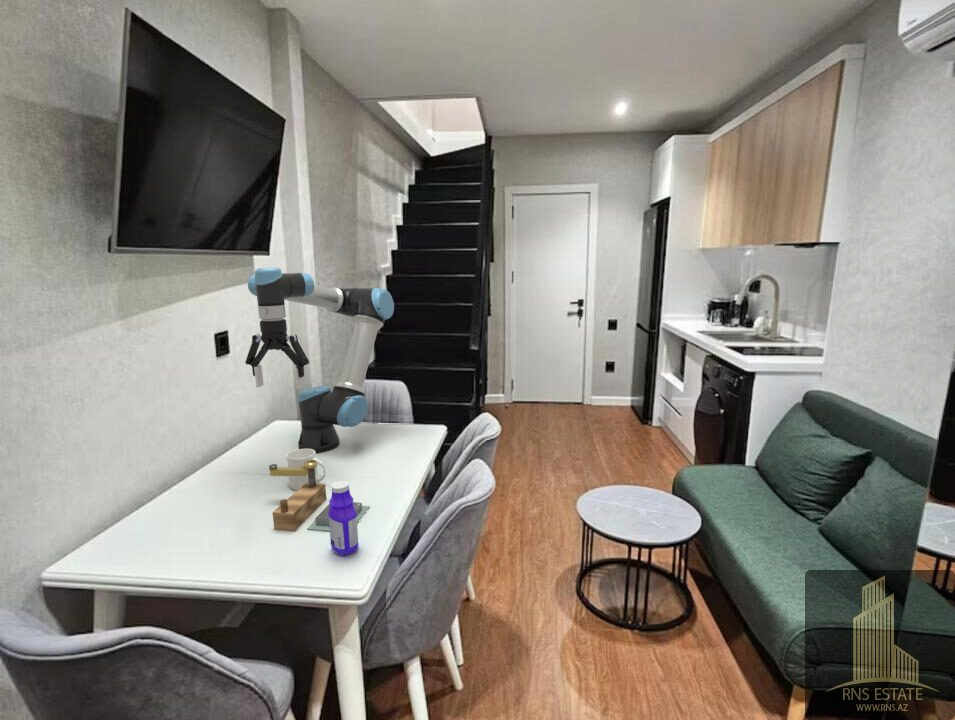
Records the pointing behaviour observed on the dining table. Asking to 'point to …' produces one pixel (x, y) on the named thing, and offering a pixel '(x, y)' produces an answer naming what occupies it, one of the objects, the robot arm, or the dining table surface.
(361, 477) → the dining table surface
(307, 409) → the robot arm
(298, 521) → the plane body
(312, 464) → the lever
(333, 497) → the bottle
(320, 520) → the grey knob plate
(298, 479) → the mug
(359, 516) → the mat
